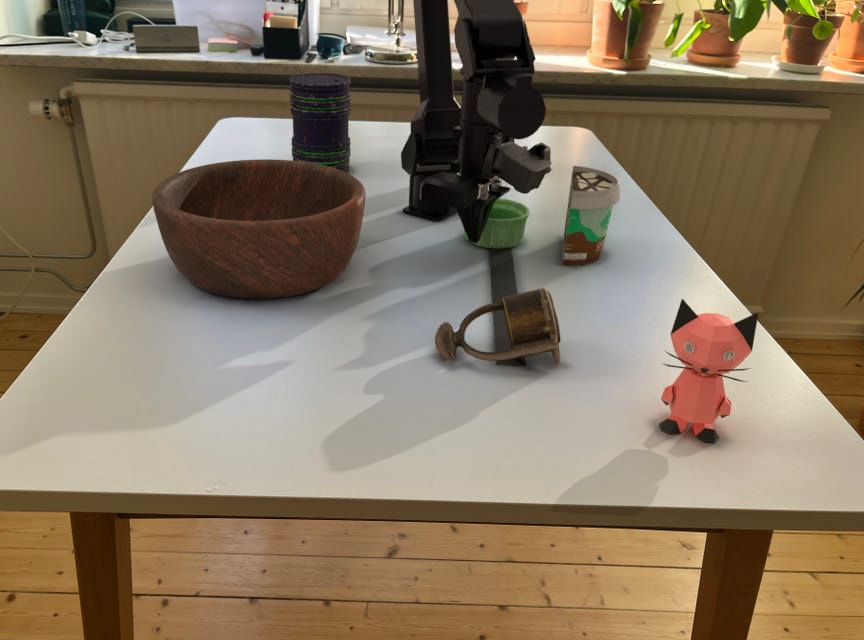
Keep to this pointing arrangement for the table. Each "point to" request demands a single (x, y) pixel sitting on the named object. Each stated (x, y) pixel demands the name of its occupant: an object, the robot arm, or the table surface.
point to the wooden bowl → (260, 225)
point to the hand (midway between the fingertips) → (473, 241)
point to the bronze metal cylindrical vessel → (510, 328)
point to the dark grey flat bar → (501, 287)
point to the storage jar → (321, 119)
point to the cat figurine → (704, 368)
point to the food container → (588, 214)
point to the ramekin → (504, 225)
